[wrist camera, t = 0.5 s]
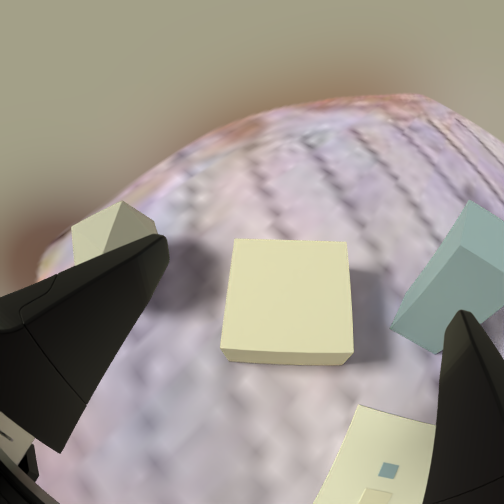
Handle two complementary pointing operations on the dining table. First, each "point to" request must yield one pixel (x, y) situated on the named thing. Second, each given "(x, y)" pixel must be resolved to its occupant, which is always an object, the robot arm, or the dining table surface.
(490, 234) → the blue brick
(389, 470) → the plate
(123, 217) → the die
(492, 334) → the dining table surface
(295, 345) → the base brick
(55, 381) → the robot arm
